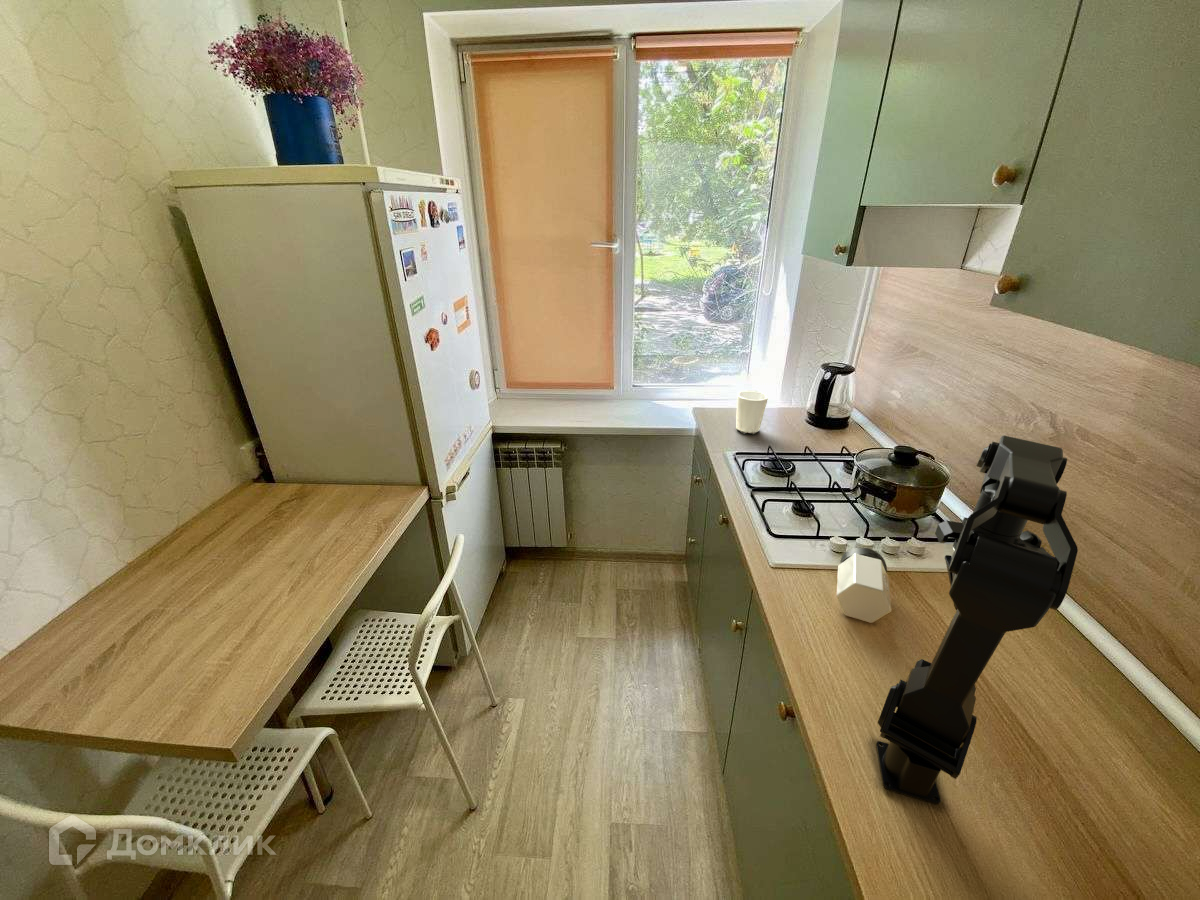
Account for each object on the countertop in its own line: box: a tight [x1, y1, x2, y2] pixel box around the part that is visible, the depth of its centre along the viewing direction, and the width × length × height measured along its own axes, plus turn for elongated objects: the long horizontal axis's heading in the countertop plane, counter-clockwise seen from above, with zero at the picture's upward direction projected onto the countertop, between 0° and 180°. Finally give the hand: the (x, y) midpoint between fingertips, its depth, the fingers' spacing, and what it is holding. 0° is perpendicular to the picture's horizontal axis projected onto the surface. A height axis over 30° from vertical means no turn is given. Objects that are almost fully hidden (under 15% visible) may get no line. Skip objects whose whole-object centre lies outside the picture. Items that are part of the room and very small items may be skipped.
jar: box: [836, 547, 892, 624], centre depth 93 cm, size 9×8×12 cm
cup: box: [735, 390, 769, 435], centre depth 164 cm, size 10×10×13 cm
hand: (958, 609), depth 75 cm, fingers closed
